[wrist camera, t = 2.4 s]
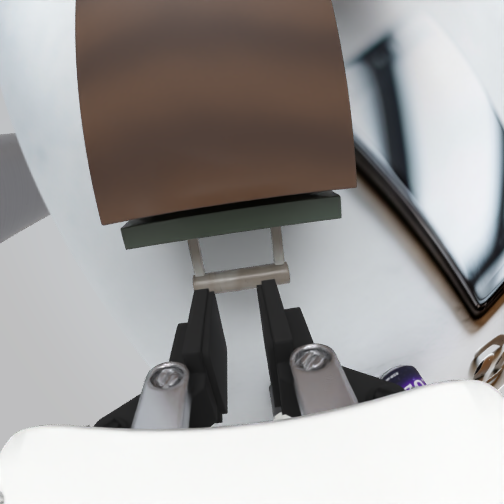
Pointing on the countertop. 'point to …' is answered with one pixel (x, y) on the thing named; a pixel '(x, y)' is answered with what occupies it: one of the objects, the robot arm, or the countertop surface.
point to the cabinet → (210, 102)
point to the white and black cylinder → (276, 411)
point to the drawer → (232, 221)
